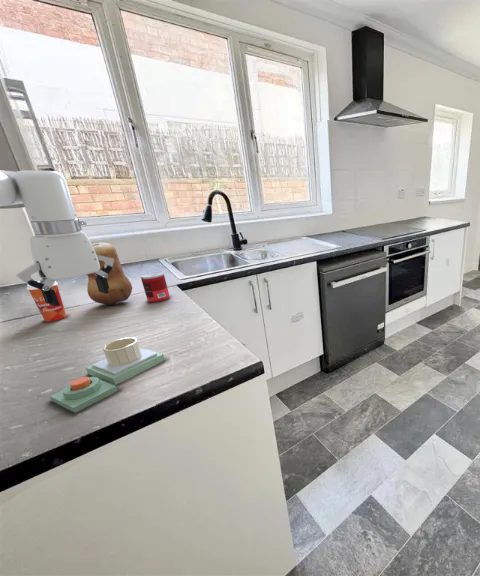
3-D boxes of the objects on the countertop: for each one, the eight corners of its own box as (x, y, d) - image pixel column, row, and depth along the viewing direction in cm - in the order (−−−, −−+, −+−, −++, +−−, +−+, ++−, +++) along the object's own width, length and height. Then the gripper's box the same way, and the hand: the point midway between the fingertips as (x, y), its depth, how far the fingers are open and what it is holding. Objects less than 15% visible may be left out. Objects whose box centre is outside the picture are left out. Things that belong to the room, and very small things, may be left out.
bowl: (118, 368, 77) (112, 352, 76) (103, 362, 80) (97, 347, 79) (147, 354, 83) (142, 340, 82) (131, 350, 86) (127, 335, 84)
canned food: (173, 295, 135) (167, 271, 131) (164, 301, 128) (157, 276, 124) (154, 296, 134) (147, 272, 130) (143, 303, 126) (136, 277, 123)
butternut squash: (84, 311, 119) (60, 248, 111) (107, 299, 132) (88, 241, 124) (123, 308, 121) (103, 246, 113) (143, 296, 134) (126, 239, 126)
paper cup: (35, 324, 109) (19, 287, 104) (47, 316, 115) (33, 281, 111) (64, 320, 112) (50, 284, 107) (74, 312, 118) (61, 278, 114)
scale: (115, 385, 75) (112, 376, 74) (88, 374, 80) (84, 365, 79) (165, 360, 85) (162, 352, 85) (138, 351, 90) (136, 343, 89)
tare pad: (117, 390, 73) (114, 380, 72) (75, 413, 66) (70, 401, 65) (94, 381, 77) (90, 370, 76) (51, 401, 70) (46, 390, 69)
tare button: (94, 384, 71) (91, 378, 71) (76, 392, 69) (74, 386, 68) (86, 380, 73) (84, 375, 72) (69, 388, 70) (66, 383, 69)
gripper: (94, 223, 79) (113, 286, 84) (-7, 232, 64) (23, 308, 70) (111, 224, 76) (129, 290, 82) (9, 234, 61) (39, 313, 67)
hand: (80, 298), depth 76 cm, fingers open, 9 cm apart
